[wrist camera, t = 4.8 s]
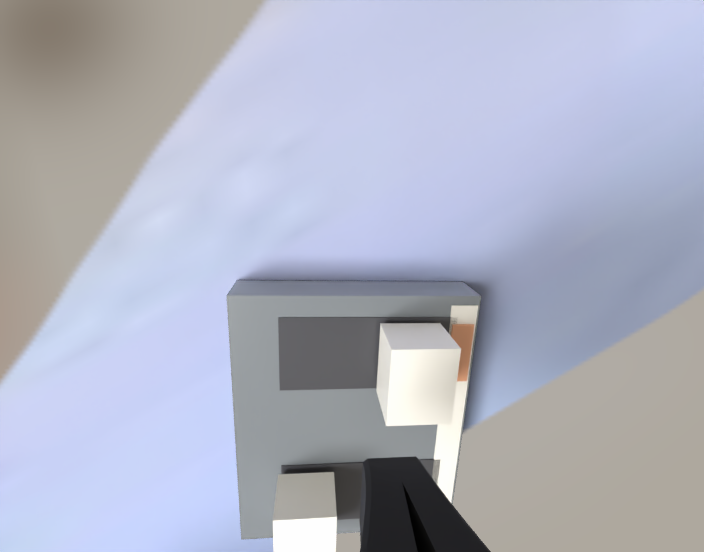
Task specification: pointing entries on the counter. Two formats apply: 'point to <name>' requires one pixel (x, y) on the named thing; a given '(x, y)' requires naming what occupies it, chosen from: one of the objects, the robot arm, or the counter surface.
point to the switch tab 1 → (305, 513)
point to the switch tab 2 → (417, 373)
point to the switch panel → (332, 386)
